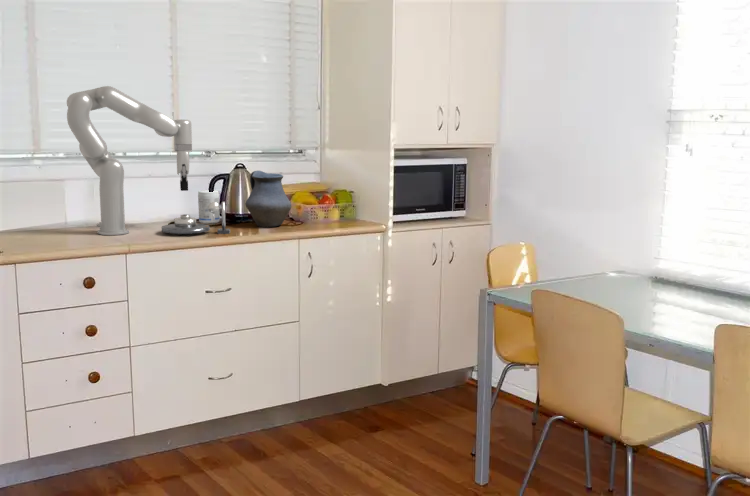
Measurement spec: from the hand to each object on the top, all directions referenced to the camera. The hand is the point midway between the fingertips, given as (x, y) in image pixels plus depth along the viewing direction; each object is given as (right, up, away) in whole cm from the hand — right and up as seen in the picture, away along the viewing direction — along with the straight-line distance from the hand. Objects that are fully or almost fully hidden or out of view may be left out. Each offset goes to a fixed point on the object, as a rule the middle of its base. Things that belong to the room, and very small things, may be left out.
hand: (184, 189), depth 336 cm
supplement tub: (+6, -14, +23) cm, 28 cm away
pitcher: (+35, -16, +15) cm, 41 cm away
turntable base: (+3, -19, -9) cm, 22 cm away
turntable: (+3, -18, -9) cm, 21 cm away
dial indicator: (+18, -19, -8) cm, 27 cm away
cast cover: (+2, -16, -6) cm, 17 cm away
